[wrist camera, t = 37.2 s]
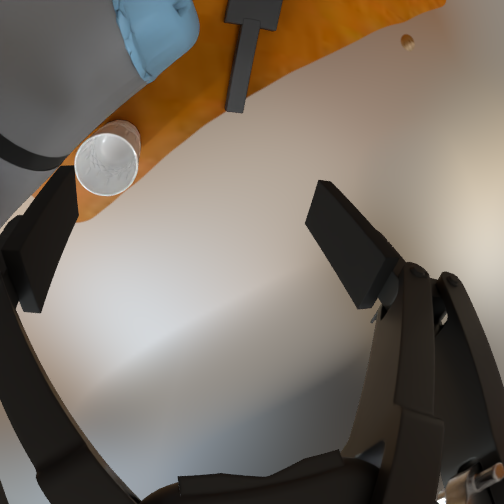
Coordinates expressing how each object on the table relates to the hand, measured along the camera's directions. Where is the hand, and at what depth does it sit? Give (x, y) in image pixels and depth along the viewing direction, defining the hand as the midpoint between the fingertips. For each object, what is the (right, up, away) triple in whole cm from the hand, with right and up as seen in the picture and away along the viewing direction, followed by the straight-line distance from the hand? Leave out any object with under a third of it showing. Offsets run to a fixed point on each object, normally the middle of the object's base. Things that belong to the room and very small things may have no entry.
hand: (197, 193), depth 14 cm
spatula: (+2, +27, +20) cm, 33 cm away
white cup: (-17, +13, +25) cm, 32 cm away
